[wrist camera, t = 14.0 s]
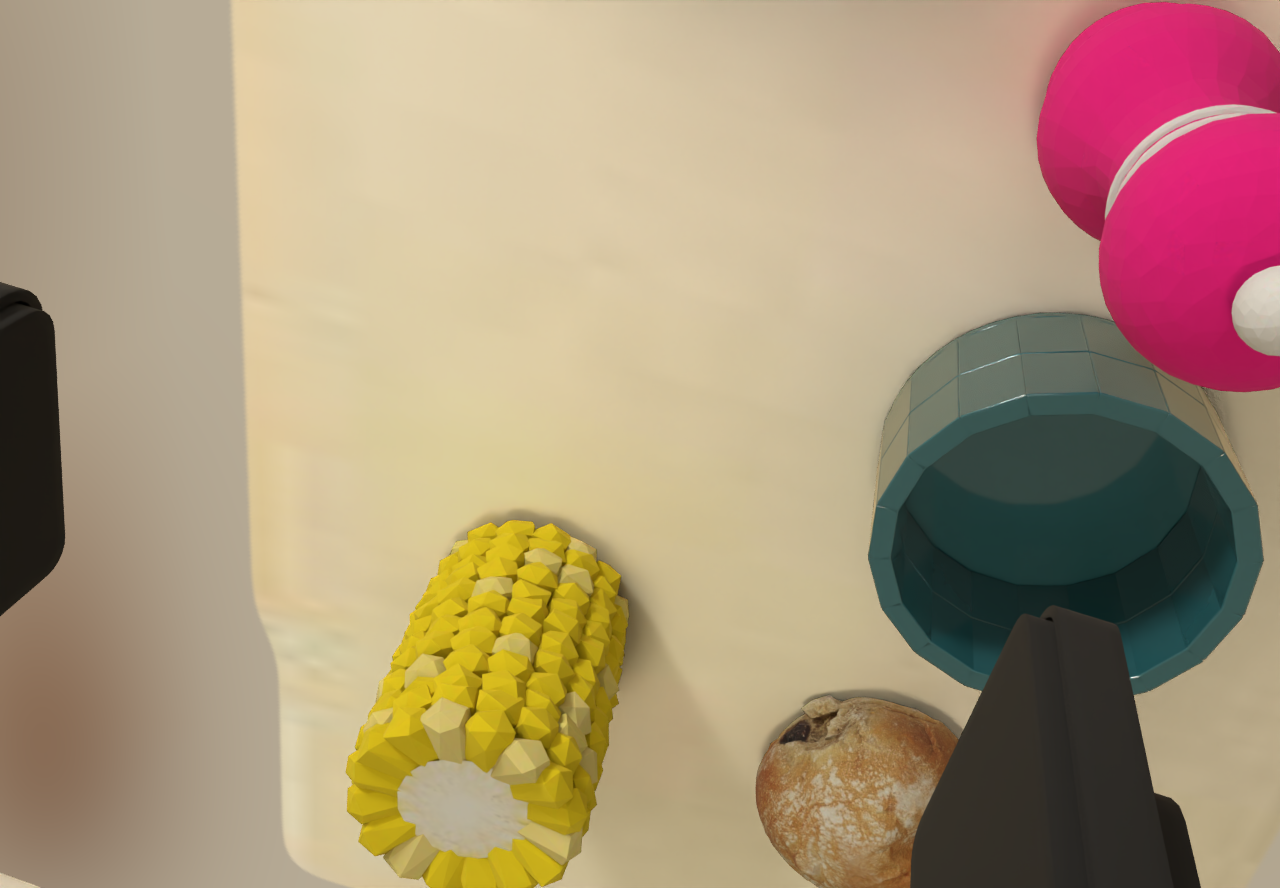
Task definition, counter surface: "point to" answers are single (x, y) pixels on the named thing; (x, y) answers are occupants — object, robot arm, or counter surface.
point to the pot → (1059, 500)
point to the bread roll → (851, 790)
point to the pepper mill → (1176, 184)
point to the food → (494, 714)
